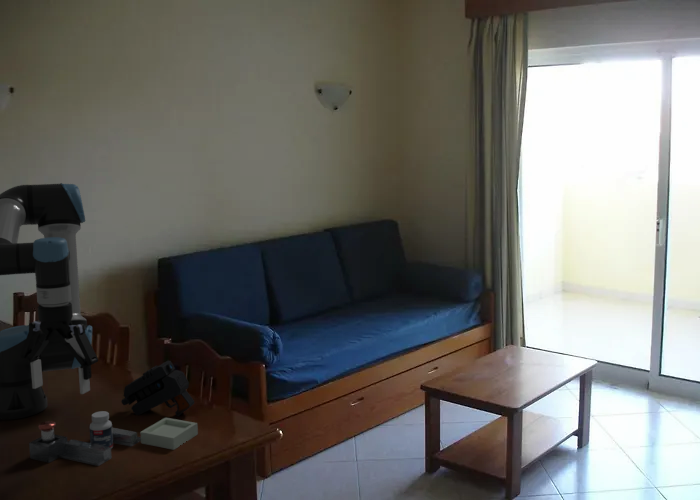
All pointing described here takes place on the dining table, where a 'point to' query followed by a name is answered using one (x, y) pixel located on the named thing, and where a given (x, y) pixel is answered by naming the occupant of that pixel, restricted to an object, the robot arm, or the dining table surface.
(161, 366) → the tool
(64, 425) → the dining table surface
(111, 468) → the dining table surface
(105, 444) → the pill bottle
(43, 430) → the plunger
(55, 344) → the robot arm
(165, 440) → the tray
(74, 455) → the socket
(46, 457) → the block
